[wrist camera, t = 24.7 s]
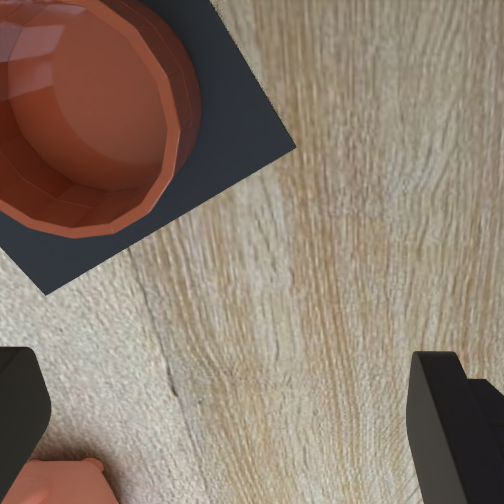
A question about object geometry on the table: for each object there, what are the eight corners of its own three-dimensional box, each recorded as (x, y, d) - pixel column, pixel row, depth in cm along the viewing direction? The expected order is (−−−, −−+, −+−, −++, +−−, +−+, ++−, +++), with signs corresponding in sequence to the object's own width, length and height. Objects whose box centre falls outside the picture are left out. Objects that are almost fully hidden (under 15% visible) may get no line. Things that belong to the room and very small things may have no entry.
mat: (57, -255, 20) (56, -256, 20) (296, 147, 27) (296, 147, 27) (-204, 26, 26) (-205, 26, 26) (46, 295, 33) (45, 295, 33)
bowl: (115, -65, 23) (61, -86, 18) (240, 135, 27) (227, 166, 22) (-39, 65, 26) (-123, 80, 21) (92, 226, 30) (49, 273, 25)
